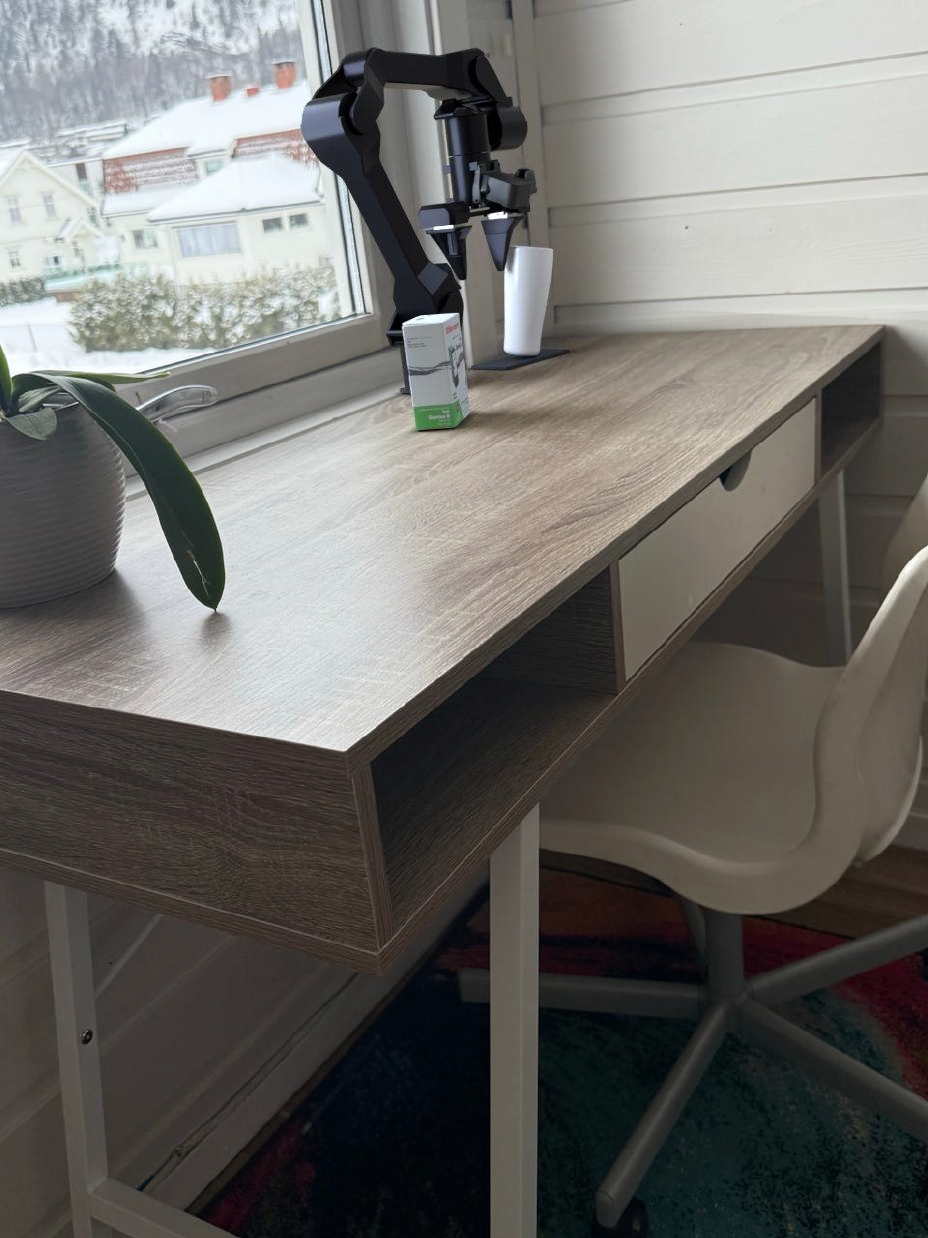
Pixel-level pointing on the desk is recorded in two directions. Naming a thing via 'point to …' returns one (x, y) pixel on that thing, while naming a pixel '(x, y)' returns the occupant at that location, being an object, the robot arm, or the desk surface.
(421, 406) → the ink box
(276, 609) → the desk surface
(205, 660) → the desk surface
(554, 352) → the mat
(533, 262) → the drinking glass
